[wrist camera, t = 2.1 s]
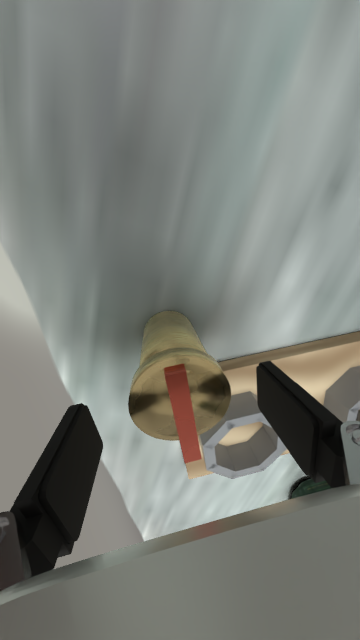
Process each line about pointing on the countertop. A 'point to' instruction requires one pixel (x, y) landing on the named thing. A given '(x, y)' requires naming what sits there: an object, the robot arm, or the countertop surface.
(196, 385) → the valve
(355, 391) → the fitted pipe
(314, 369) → the board
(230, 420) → the socket
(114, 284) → the countertop surface
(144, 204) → the countertop surface
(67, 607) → the robot arm
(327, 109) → the countertop surface
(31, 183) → the countertop surface
